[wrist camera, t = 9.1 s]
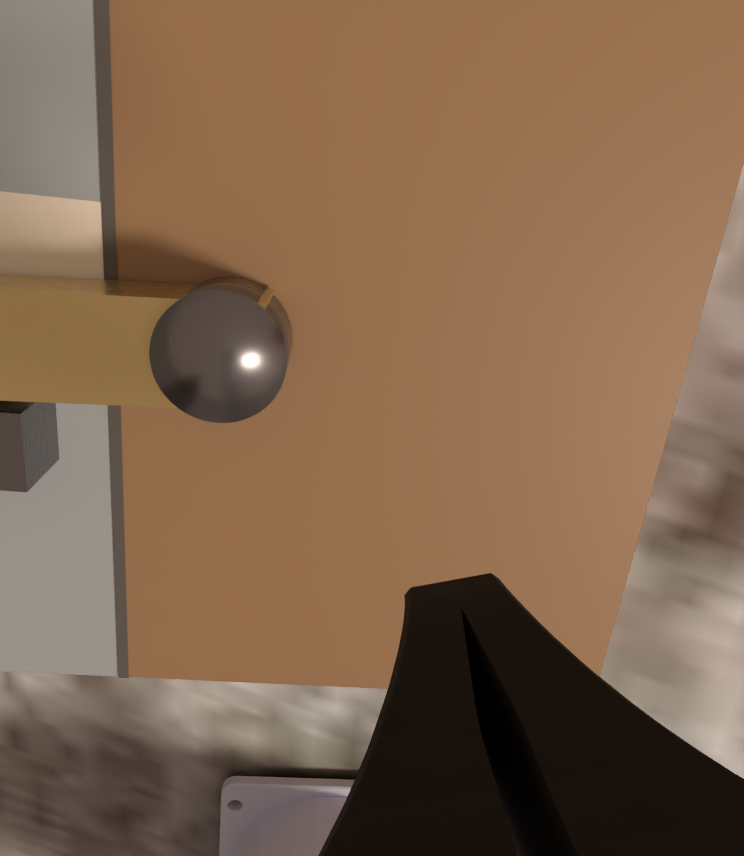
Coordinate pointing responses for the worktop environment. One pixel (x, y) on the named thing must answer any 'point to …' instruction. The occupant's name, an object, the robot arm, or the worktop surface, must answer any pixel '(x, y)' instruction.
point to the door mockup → (363, 312)
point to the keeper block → (26, 443)
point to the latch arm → (144, 344)
